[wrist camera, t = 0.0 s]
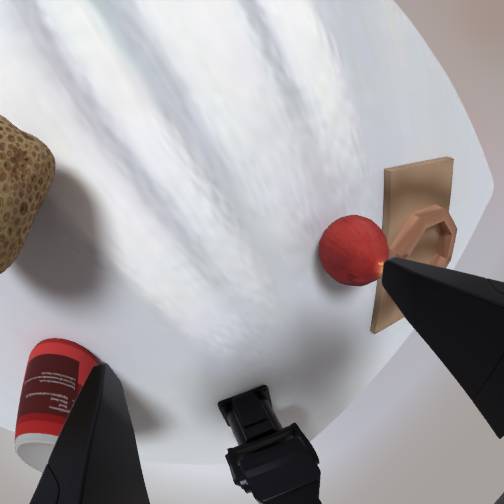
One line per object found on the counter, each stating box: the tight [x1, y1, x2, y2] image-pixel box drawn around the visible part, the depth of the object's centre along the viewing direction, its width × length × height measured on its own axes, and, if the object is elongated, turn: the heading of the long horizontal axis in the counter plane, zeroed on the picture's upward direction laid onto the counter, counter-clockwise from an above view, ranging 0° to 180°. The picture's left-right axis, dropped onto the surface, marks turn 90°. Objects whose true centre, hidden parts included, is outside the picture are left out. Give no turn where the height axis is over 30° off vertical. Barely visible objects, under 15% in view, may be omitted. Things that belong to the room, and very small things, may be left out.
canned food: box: [15, 338, 98, 473], centre depth 18 cm, size 8×8×11 cm
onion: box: [319, 215, 389, 286], centre depth 24 cm, size 6×6×8 cm
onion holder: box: [370, 157, 457, 334], centre depth 32 cm, size 22×12×3 cm, turn 10°
